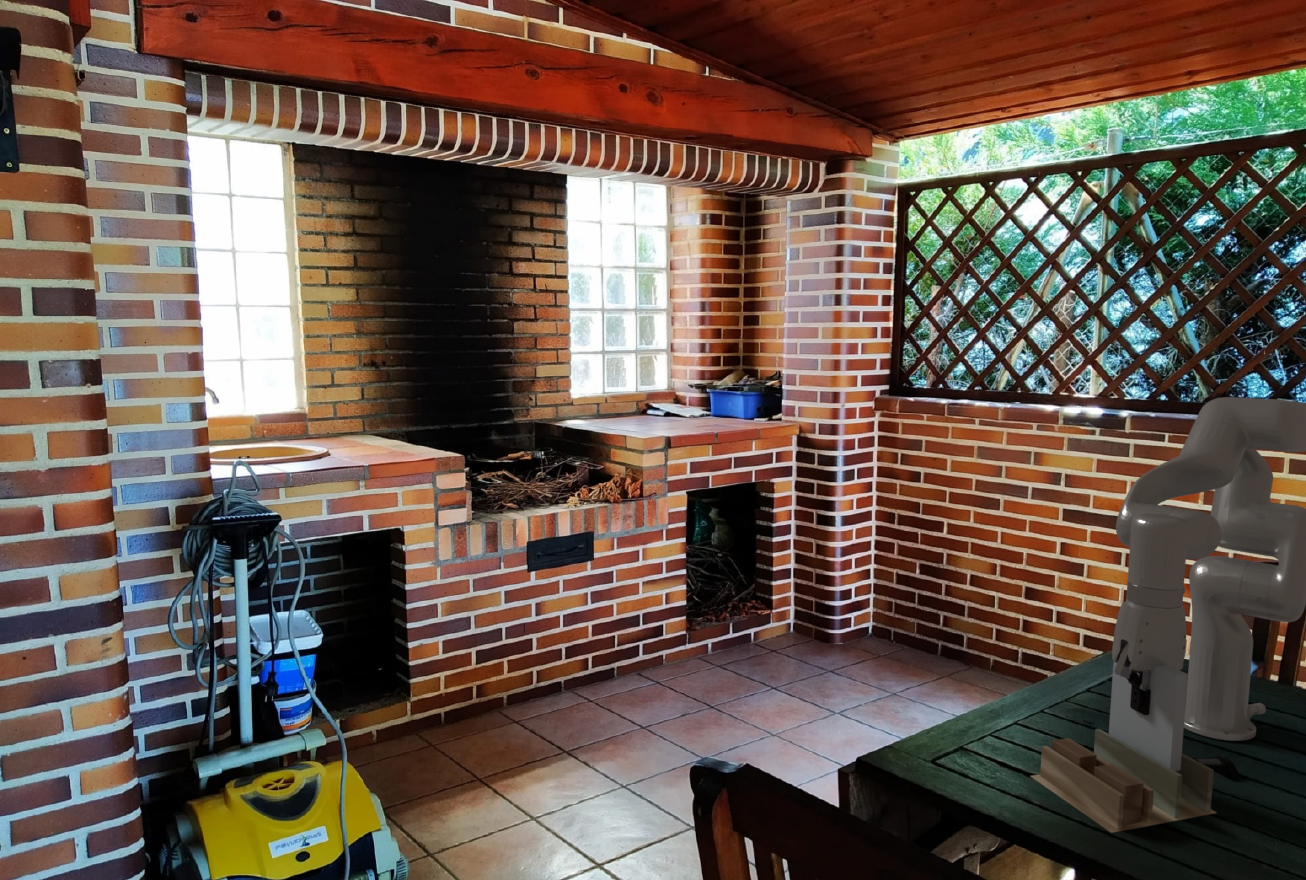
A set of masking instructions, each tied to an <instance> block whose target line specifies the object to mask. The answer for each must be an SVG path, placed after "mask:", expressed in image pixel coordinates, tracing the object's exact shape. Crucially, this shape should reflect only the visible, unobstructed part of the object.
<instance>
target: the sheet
mask: <svg viewBox="0 0 1306 880" xmlns="http://www.w3.org/2000/svg"><path fill="white" fill-rule="evenodd" d="M1116 665H1117V663H1116V662H1114V661H1113V665H1112V667H1113V668H1112V679H1111V696H1110V707H1109V708H1110V710H1109V727H1108V734H1109V735H1111V736H1113V737H1115V738H1117V739H1118V740H1120V741H1122V742H1124V743H1126V744H1127V745H1129V746H1131V747H1133V748H1134V749H1136V750H1138V751H1140V752H1142V753H1143V754H1145V755H1147V756H1149V757H1150V758H1152V759H1154V760H1156V761H1158V762H1159V763H1161V764H1163V765H1165V766H1166V767H1168V768H1170V769H1172V770H1174V771H1178V770H1180V769H1181V756H1182V753H1183V742H1184V729H1185V728H1184V717H1185V707H1186V696H1187V683H1188V672H1187V673H1186V672H1184V671H1182V670H1177V669H1175V668H1173V667H1170V666H1168V665H1159V666H1155V669H1154V670H1151V671H1149V683H1148V690H1150V691H1151V696H1150V710H1149V715H1143V714H1141V713H1139V712H1137V711H1135V710H1133V709H1131V707H1130V701H1131V687H1132V685H1131V684H1129V683H1128V680H1127V679H1126V678H1124V677H1122V676H1120V675H1117V674H1115V672H1114V671H1115V668H1116ZM1137 674H1138V675H1139V677H1140V673H1138V672H1137Z"/></svg>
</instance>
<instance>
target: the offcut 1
mask: <svg viewBox="0 0 1306 880" xmlns="http://www.w3.org/2000/svg"><path fill="white" fill-rule="evenodd" d="M1051 749H1052V750H1054V751H1055V752H1057V753H1058V754H1060V755H1062V756H1063V757H1065V758H1066V759H1068V760H1070V761H1071V762H1073V763H1074V764H1076V765H1077V766H1079V767H1081V768H1082V769H1084V770H1085V771H1087V772H1089V773H1090V774H1092V775H1093V776H1094V767H1096V760H1097V755H1096V754H1094V751H1093V752H1092V751H1090V750H1089V749H1088V748H1086V747H1084V746H1083V745H1081V744H1079V743H1078V742H1076V741H1074V740H1073V739H1071V738H1069V737H1068V738H1067V737H1066V738H1061V739H1060V738H1059V739H1055V740H1051Z"/></svg>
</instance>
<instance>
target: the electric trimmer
mask: <svg viewBox="0 0 1306 880" xmlns="http://www.w3.org/2000/svg"><path fill="white" fill-rule="evenodd" d="M1191 758H1192V759H1194V760H1196V761H1198V762H1200V763H1202V764H1203V765H1205V766H1207V767H1209V768H1211V769H1213V770H1214V772H1215V773H1216V774H1218V775H1220V776H1227V777H1228V776H1229V777H1230V778H1232V779H1236V778H1239V777H1240V775H1239V771H1238V769H1237V767H1236V765H1234V763H1233V762H1232V761H1231V760H1230V759H1229V758H1228V757H1226V756H1224V757H1222V756H1221V755H1216V756H1214V757H1191Z"/></svg>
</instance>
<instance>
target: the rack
mask: <svg viewBox="0 0 1306 880" xmlns="http://www.w3.org/2000/svg"><path fill="white" fill-rule="evenodd" d="M1093 746H1094V747H1093V753H1094V754H1096V755H1097V760H1096V766H1102V765H1109V764H1113V765H1114V766H1116V767H1118V768H1119V769H1121V770H1123V771H1124V772H1126V773H1128V774H1129V775H1131V776H1133V777H1134V778H1136V779H1138V780H1139V781H1141V782H1143V783H1144V786H1143V800H1142V814H1141V822H1140V823H1135V824H1130V825H1124V826H1122V823H1123V809H1124V795H1123V794H1122V793H1120V792H1119V791H1117V790H1115V789H1114V788H1112V787H1111V786H1109V785H1107V784H1106V783H1104V782H1103V781H1101V780H1100V779H1098V778H1096V777H1095V776H1093V775H1092V774H1090V773H1089V772H1087V771H1085V770H1084V769H1082V768H1081V767H1079V766H1077V765H1076V764H1074V763H1073V762H1071V761H1070V760H1068V759H1066V758H1065V757H1063V756H1062V755H1060V754H1058V753H1057V752H1055V751H1054V750H1052V749H1051V748H1050V747H1049V746H1048V745H1042V746H1041V756H1040V774H1035V775H1030V778H1032V779H1033V780H1034V781H1036V782H1037V783H1039V784H1040V785H1042V786H1044V787H1045V788H1046V789H1048V790H1049V791H1051V792H1053V793H1054V794H1055V795H1056V796H1058V797H1059V798H1061V799H1062V800H1064V801H1065V802H1067V803H1068V804H1070V805H1071V806H1073V808H1075V809H1076V810H1078V811H1079V812H1081V813H1082V814H1083V815H1085V816H1087V817H1088V818H1089V819H1091V820H1092V821H1094V822H1095V823H1097V824H1098V825H1099V826H1101V827H1102V828H1104V830H1107V831H1108V832H1109V833H1111V834H1114V833H1119V832H1125V831H1129V830H1134V829H1140V828H1146V827H1150V826H1155V825H1161V824H1166V823H1172V822H1177V821H1183V820H1188V819H1193V818H1198V817H1203V816H1208V815H1213V814H1214V815H1215V814H1217V813H1218V812H1217V811H1215V810H1213V809H1212V797H1213V796H1212V794H1213V786H1214V784H1213V783H1214V774H1215V773H1214V770H1213V769H1211V768H1209V767H1207V766H1205V765H1203V764H1202V763H1200V762H1198V761H1196V760H1194V759H1192V758H1193V757H1190V756H1188V755H1187V754H1185V753H1183V752H1182V756H1181V769H1180V770H1178V771H1174V770H1172V769H1170V768H1168V767H1166V766H1165V765H1163V764H1161V763H1159V762H1158V761H1156V760H1154V759H1152V758H1150V757H1149V756H1147V755H1145V754H1143V753H1142V752H1140V751H1138V750H1136V749H1134V748H1133V747H1131V746H1129V745H1127V744H1126V743H1124V742H1122V741H1120V740H1118V739H1117V738H1115V737H1113V736H1111V735H1109V732H1107V731H1104V730H1102V728H1100V729H1099V728H1096V729H1095V730H1094V744H1093Z"/></svg>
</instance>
